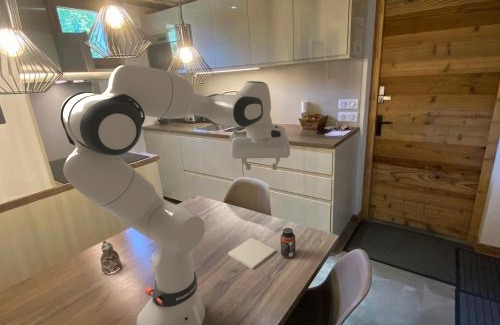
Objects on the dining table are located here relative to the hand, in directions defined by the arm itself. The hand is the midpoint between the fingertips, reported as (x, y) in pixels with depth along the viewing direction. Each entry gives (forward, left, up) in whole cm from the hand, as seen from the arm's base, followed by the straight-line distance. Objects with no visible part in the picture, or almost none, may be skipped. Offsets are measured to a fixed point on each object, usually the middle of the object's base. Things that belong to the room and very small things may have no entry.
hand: (261, 169), depth 98 cm
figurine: (-43, +45, -39) cm, 74 cm away
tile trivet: (0, +8, -39) cm, 40 cm away
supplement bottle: (+9, -4, -39) cm, 40 cm away
